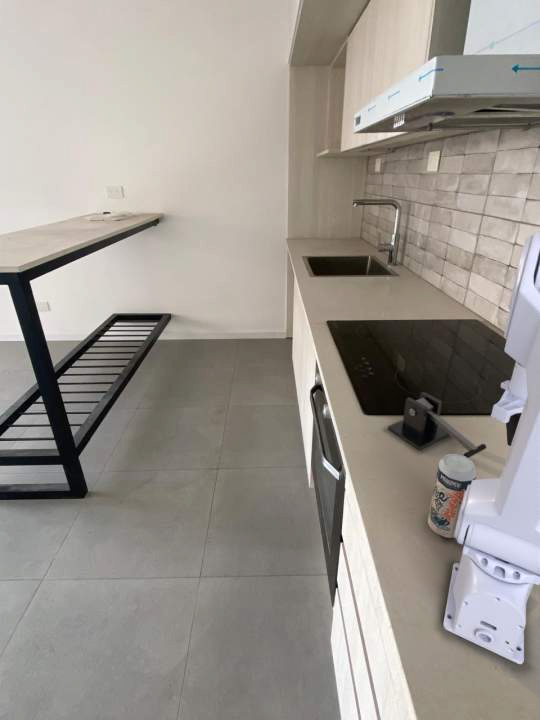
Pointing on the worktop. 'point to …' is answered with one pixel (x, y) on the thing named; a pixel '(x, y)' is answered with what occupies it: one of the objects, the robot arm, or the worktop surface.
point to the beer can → (450, 493)
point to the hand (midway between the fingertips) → (516, 446)
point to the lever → (452, 430)
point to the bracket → (419, 424)
